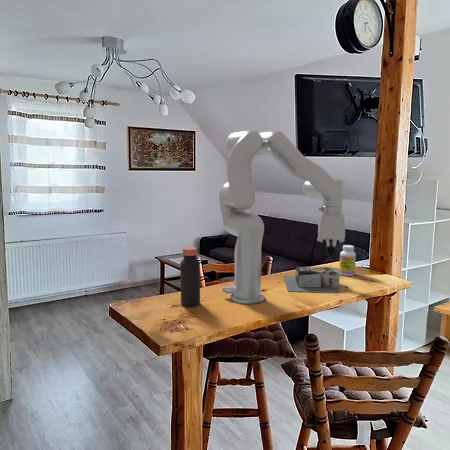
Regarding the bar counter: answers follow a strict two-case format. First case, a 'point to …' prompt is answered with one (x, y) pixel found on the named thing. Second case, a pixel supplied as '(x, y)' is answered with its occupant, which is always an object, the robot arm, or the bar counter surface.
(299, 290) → the mat
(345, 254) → the supplement bottle
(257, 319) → the bar counter surface
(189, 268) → the black water bottle
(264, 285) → the bar counter surface
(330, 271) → the coffee box
